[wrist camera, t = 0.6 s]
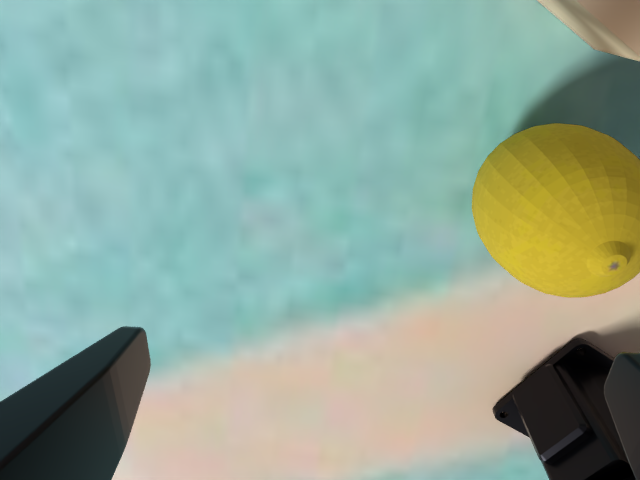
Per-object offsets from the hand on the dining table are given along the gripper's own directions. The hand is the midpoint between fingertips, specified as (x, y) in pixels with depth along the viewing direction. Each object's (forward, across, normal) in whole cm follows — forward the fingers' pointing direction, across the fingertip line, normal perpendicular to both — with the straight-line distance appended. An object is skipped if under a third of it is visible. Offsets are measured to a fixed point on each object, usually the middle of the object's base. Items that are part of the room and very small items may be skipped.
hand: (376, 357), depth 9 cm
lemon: (+13, -7, 0) cm, 15 cm away
